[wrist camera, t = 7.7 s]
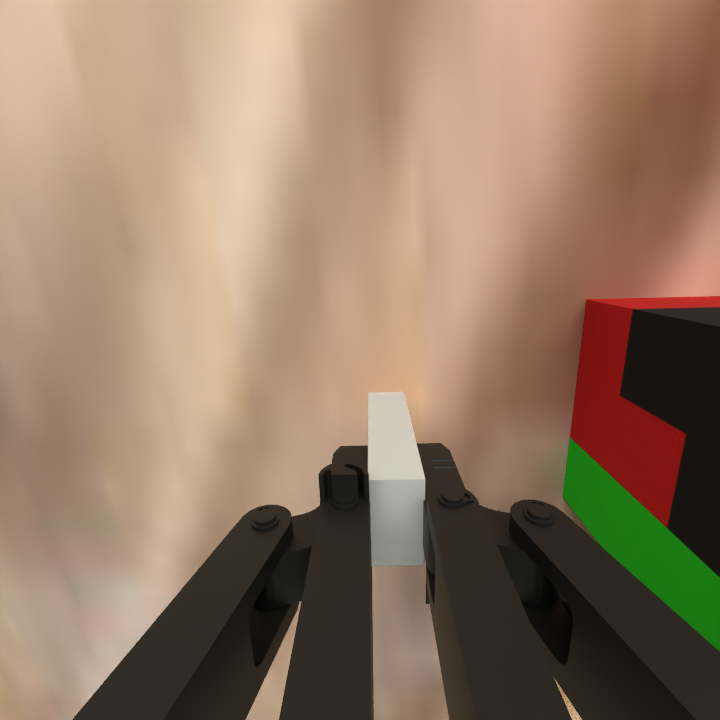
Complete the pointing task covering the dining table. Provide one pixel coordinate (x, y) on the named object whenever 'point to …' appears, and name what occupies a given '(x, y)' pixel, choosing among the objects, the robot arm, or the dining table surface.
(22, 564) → the dining table surface
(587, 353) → the puzzle toy
